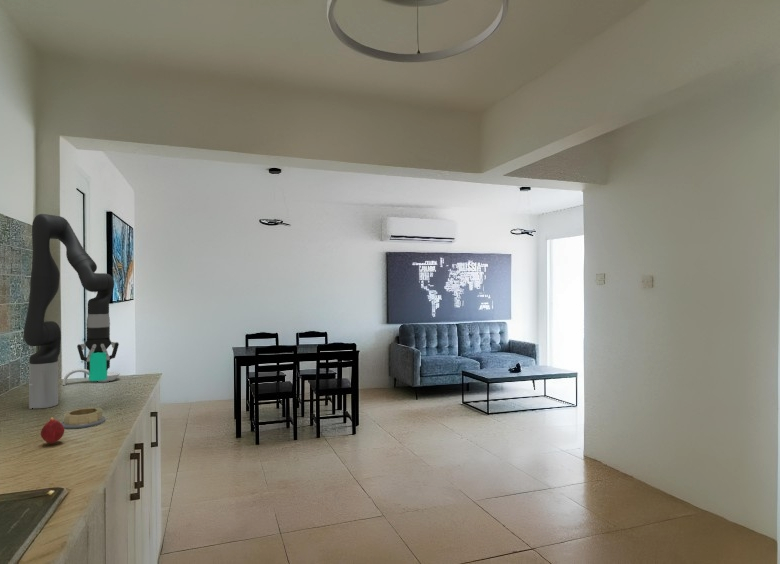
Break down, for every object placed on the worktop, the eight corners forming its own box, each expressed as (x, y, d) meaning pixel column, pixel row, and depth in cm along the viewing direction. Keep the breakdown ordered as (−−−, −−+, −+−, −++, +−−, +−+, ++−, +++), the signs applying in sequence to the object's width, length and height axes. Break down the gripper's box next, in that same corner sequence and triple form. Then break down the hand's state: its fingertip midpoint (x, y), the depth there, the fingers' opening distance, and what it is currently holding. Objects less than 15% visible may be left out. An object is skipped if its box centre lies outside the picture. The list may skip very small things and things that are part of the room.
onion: (68, 441, 150) (68, 415, 150) (50, 448, 144) (50, 421, 144) (55, 440, 152) (55, 414, 152) (36, 445, 146) (36, 419, 146)
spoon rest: (118, 378, 248) (118, 363, 248) (120, 382, 239) (120, 367, 238) (62, 383, 235) (62, 368, 235) (62, 388, 225) (62, 372, 225)
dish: (60, 431, 160) (60, 428, 160) (61, 421, 171) (61, 418, 171) (106, 424, 167) (106, 422, 167) (104, 416, 178) (104, 413, 178)
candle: (94, 381, 181) (94, 349, 181) (85, 379, 184) (85, 348, 184) (110, 378, 186) (110, 347, 186) (102, 377, 190) (102, 346, 189)
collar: (64, 427, 162) (63, 418, 162) (64, 419, 171) (64, 410, 171) (102, 421, 168) (102, 413, 168) (101, 414, 177) (101, 406, 177)
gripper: (119, 324, 192) (119, 367, 192) (76, 325, 185) (75, 370, 185) (120, 325, 186) (120, 370, 186) (75, 327, 178) (75, 374, 178)
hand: (98, 370), depth 185 cm, fingers closed on candle, 5 cm apart
